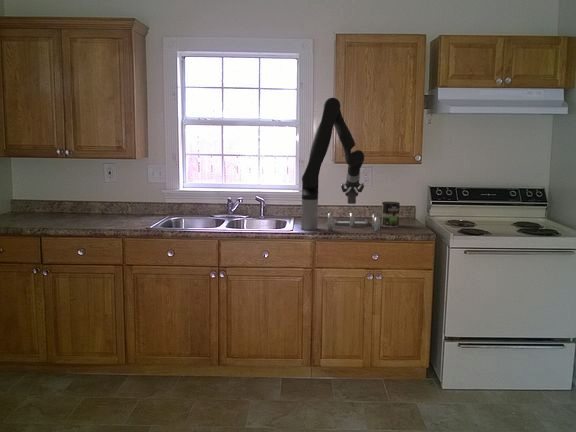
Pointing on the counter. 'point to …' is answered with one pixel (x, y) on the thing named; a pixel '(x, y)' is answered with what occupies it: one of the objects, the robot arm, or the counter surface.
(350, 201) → the black standoff
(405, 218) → the counter surface
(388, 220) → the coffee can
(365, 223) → the tray
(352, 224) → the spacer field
